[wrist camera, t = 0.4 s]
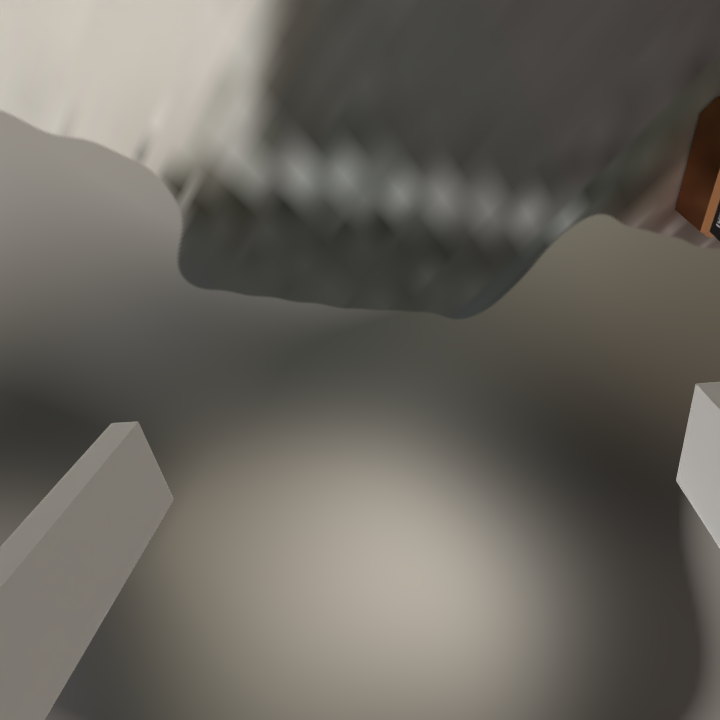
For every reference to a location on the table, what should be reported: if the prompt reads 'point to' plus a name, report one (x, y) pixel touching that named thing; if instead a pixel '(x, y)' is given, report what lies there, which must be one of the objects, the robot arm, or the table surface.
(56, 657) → the robot arm
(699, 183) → the whiskey bottle
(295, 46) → the table surface
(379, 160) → the table surface
